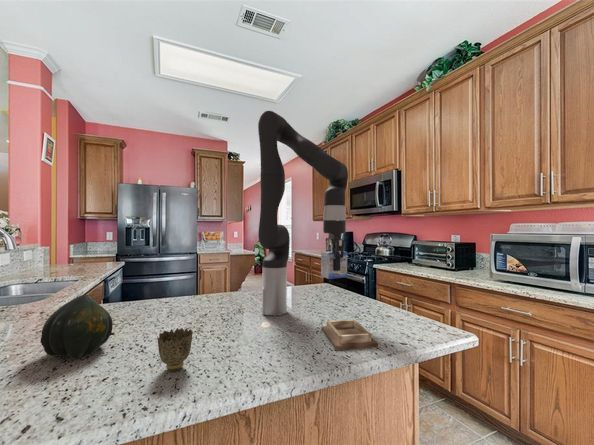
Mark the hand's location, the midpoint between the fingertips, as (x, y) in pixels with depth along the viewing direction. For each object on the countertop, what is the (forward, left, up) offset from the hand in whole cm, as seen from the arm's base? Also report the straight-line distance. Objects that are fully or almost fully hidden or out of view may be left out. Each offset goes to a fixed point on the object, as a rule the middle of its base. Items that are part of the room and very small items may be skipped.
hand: (334, 269), depth 96 cm
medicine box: (0, 0, -3) cm, 3 cm away
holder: (0, -13, -18) cm, 22 cm away
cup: (-45, -24, -18) cm, 54 cm away
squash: (-72, -11, -18) cm, 75 cm away
